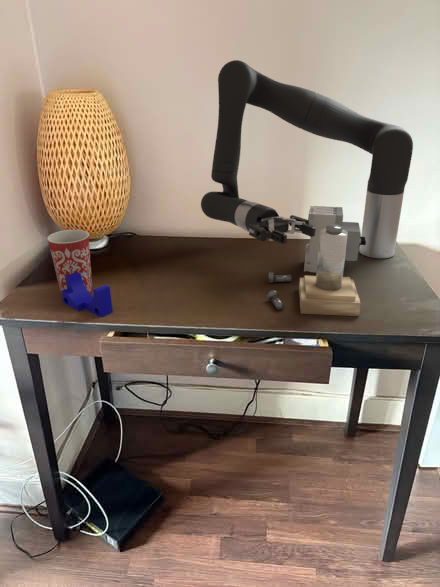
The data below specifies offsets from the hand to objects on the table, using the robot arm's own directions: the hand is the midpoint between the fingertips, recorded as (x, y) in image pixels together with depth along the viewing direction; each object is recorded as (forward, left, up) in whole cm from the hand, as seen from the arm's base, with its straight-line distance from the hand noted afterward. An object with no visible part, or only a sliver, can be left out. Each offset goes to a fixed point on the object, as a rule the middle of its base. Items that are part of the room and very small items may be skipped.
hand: (300, 235), depth 107 cm
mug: (+6, -52, -13) cm, 54 cm away
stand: (+8, +6, -12) cm, 16 cm away
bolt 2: (+11, -5, -12) cm, 17 cm away
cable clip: (+16, -46, -13) cm, 50 cm away
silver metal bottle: (+8, +6, -8) cm, 13 cm away
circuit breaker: (-12, +9, -13) cm, 20 cm away
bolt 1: (-2, -4, -12) cm, 13 cm away
